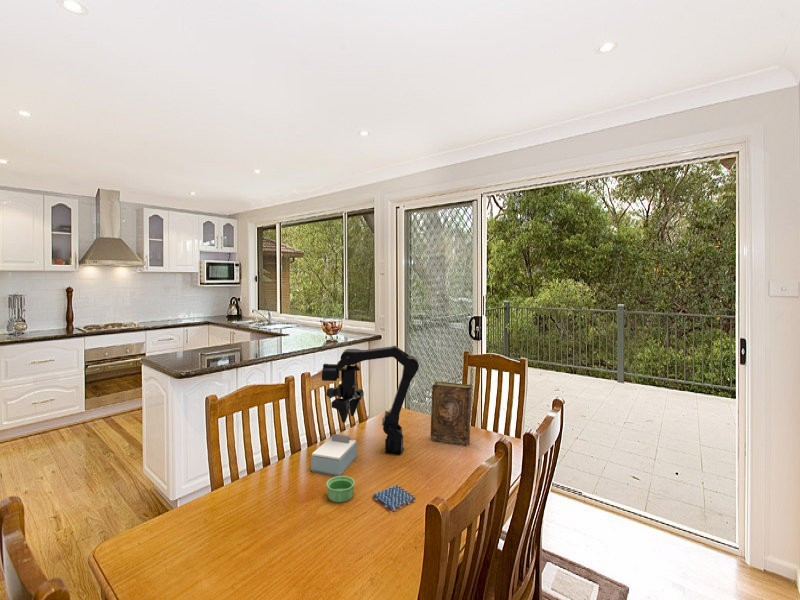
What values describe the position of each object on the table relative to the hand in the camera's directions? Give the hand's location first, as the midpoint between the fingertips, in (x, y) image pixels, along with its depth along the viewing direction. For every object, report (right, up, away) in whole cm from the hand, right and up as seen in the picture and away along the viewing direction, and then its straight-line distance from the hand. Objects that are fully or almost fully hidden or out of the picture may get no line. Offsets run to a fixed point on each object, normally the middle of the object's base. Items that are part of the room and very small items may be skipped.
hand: (348, 419), depth 161 cm
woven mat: (+19, -16, -34) cm, 42 cm away
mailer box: (-4, -14, -11) cm, 18 cm away
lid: (-3, -8, -11) cm, 14 cm away
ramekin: (+2, -15, -32) cm, 36 cm away
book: (+43, -13, +12) cm, 46 cm away
